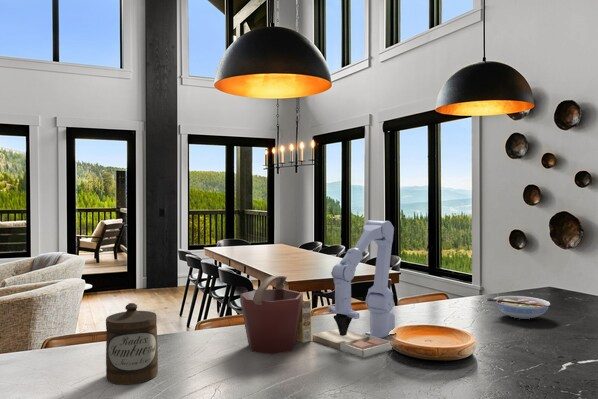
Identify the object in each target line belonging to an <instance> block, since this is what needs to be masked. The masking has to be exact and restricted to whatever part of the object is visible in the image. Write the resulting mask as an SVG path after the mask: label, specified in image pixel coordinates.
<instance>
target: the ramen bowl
mask: <svg viewBox="0 0 598 399" xmlns="http://www.w3.org/2000/svg"><path fill="white" fill-rule="evenodd" d="M486 301H487V302H493V303H494V304H495V306H496V307H497V308H498V310H499V311H500V312H502V313H503V314H505V315H506V316H509V317H511V318H512V317H514V318H513V319H515V318H520V319H529V320H530V318H531V319H534V318H537V317H540V316H542V315H543V314H544V313H546V312H547V310H548V309H549V308H552V306H551V303H550V301H547V300H545V299H541V298H537V297H531V296H524V295H503V296H497V297H494V298H488V299H486ZM520 319H519V320H520Z"/></svg>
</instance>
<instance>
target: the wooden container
mask: <svg viewBox="0 0 598 399" xmlns="http://www.w3.org/2000/svg"><path fill="white" fill-rule="evenodd" d="M137 309H138V304H136V303H134V302H130V303H128V304H126V305H125V310H126V311H122V312H121V311H120V312H117V313H113V314H111V315H109V316H107V317H106V319H105V330H106V336H105V337H106V338H105V339H106V342H105V343H106V345H105V372H106V373H105V377H106V378H105V379H106V381H107V382H109V383H111V384H115V385H121V384H122V385H126V384H127V385H136V384H140V383H145V382H148V381H150V380H152V379H154V378H155V377H156V376H157V375H158V371H159V369H158V368H159V367H158V366H159V365H158V364H159V362H158V361H159V356H158V353H159V352H158V351H159V350H158V325H157V319H158V318H157V313H155V312H154V311H148V310H137Z"/></svg>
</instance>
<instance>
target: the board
mask: <svg viewBox="0 0 598 399" xmlns="http://www.w3.org/2000/svg"><path fill="white" fill-rule="evenodd" d="M311 341H315V342H317V343H320V344H323V345H325V346H329V347H331V348H334V349H337V350H339V351H341V350H340V343H345V344H348V345H350V346H351V344H352V343H356V342H360V341H363V342H367V341H369V335H368V334H365V333H360V332H357V331H354V330H352V329H348V330H347V334H346V335H345V336H341V335H340V333H339V329H338V328H336V329H331V330H326V331H322V332H318V333H313V334H311Z"/></svg>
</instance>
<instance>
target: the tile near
mask: <svg viewBox="0 0 598 399" xmlns="http://www.w3.org/2000/svg"><path fill="white" fill-rule="evenodd" d="M384 340H385V339H384ZM384 340H380V339H377V338H376V339H372V340H369V341H367V343H369V344H372V347H375V346H378V345H382V344H386V343H387V341H384Z"/></svg>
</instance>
